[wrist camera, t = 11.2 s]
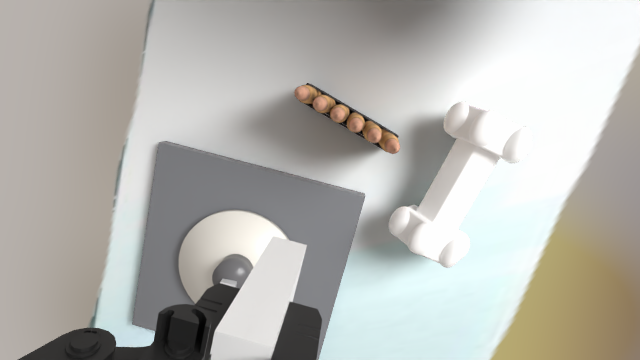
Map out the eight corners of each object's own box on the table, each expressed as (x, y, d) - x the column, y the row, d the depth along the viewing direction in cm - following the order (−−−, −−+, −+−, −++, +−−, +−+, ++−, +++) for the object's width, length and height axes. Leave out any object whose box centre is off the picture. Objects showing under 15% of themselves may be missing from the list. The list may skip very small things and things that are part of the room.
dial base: (165, 141, 42) (158, 142, 41) (364, 193, 41) (365, 197, 40) (138, 317, 47) (131, 325, 46) (314, 367, 47) (313, 376, 45)
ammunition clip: (302, 99, 40) (281, 97, 28) (311, 84, 39) (293, 75, 28) (386, 147, 40) (399, 165, 28) (395, 133, 40) (412, 145, 28)
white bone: (444, 246, 43) (472, 283, 35) (378, 217, 42) (392, 248, 34) (512, 131, 39) (561, 141, 31) (443, 96, 38) (475, 99, 30)
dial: (187, 199, 42) (169, 209, 37) (306, 221, 41) (301, 234, 37) (175, 335, 45) (158, 358, 41) (284, 357, 45) (277, 383, 41)
